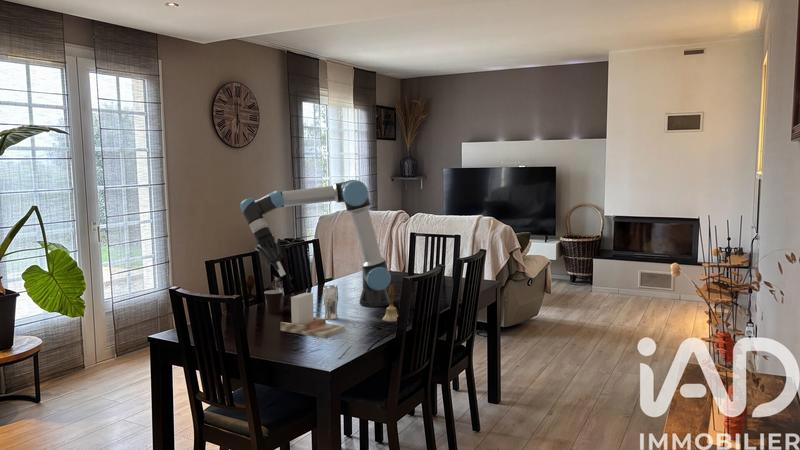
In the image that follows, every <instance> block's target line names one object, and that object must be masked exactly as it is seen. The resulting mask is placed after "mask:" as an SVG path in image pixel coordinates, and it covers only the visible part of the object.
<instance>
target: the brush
mask: <svg viewBox="0 0 800 450" xmlns="http://www.w3.org/2000/svg"><path fill="white" fill-rule="evenodd" d="M388 297H389V306H388V307H386V310H385V315H384V316H383V317H382V319H381V320H382V321H384V322H388V323H389V322H390V323H391V322H392V323H393V322H394V323H395V322H398V321H397V317H398V316H399V314H398V311H397V307H395V306H394V297H395V288H394V286H393V284H391V285H390V284H389V288H388Z"/></svg>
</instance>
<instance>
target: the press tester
mask: <svg viewBox="0 0 800 450" xmlns="http://www.w3.org/2000/svg"><path fill="white" fill-rule="evenodd" d="M279 326H280V327H279V328H280V330H279V331H282V332H287V333H293V334H299V335H305V336H311V337H317V338H323V339H325V338H328V337H330V336H333V335H335V334H338V333H340V332H342V331H344V330H346V329H345V328H346V327H345V325H340V324H339V325H338V324H334V323H327V321H326V319H325V318H322V317H321V318H320V317H316V316H314V321H312V322H309V323H307V324H304V325H299V324H292V322H284V321H281V322H280V323H279Z"/></svg>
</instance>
